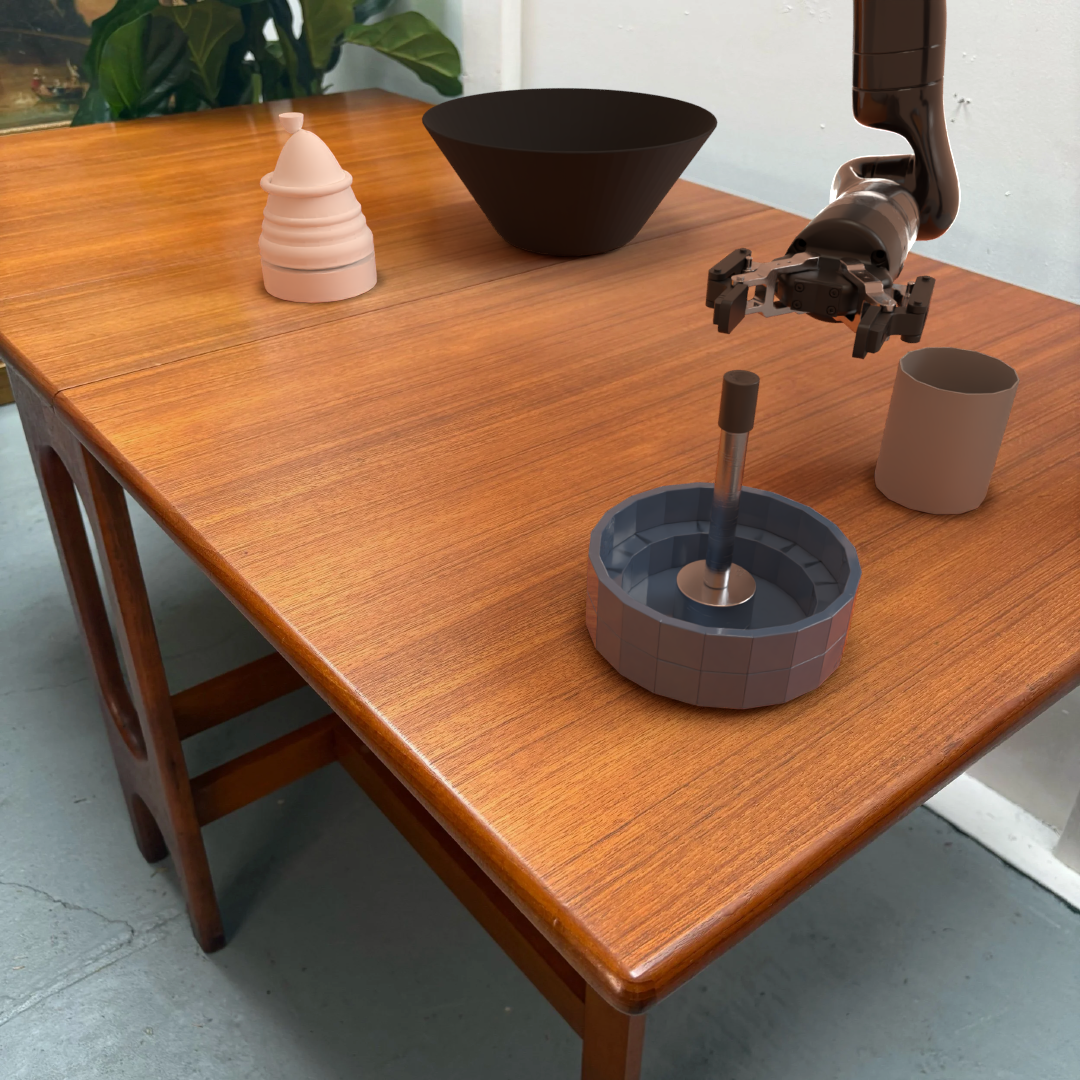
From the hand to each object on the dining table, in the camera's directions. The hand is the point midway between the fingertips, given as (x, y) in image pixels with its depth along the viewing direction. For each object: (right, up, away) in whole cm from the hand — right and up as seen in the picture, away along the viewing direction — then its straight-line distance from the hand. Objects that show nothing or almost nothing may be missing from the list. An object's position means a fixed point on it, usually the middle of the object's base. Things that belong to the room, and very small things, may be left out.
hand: (790, 331), depth 63 cm
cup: (+15, -9, +18) cm, 25 cm away
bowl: (-12, +26, +69) cm, 74 cm away
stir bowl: (-4, -19, +3) cm, 19 cm away
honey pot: (-41, +17, +56) cm, 71 cm away
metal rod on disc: (-4, -18, +3) cm, 19 cm away
